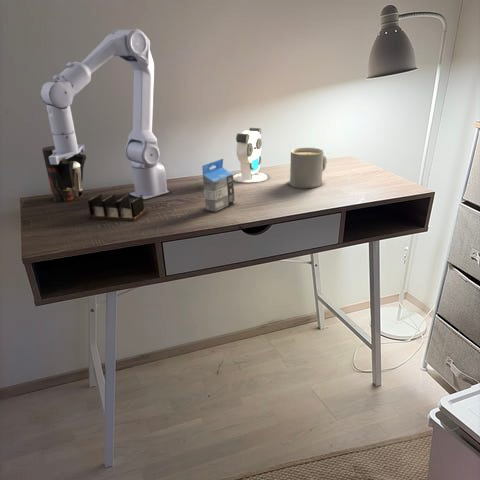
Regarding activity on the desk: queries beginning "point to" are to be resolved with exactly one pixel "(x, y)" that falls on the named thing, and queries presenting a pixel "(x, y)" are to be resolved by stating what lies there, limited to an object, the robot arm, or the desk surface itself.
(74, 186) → the milkshake
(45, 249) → the desk surface
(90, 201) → the letter rack
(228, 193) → the label tape box
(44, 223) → the desk surface
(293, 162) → the coffee mug
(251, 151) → the panda figurine
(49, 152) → the deodorant
